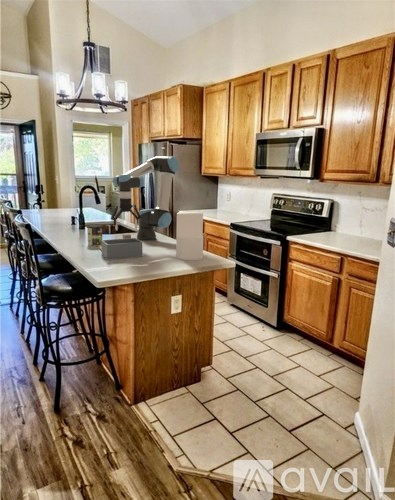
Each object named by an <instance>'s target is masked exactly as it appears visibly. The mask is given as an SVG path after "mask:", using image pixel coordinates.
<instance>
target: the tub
mask: <svg viewBox="0 0 395 500" xmlns="http://www.w3.org/2000/svg"><path fill="white" fill-rule="evenodd" d="M101 246H102V250H101V256H102V257H104V258H105V259H106V260H108V261H109V260H121V259H129V258H130V259H132V258H142V257H143V241H142V240H139V239H137V237H131V238H127V239H123V238H115V239H114V238H113V239H103V240H101Z"/></svg>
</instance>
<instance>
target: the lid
mask: <svg viewBox="0 0 395 500" xmlns="http://www.w3.org/2000/svg"><path fill="white" fill-rule="evenodd" d="M127 238H132V234H131V233H123V234H122V239H127ZM97 247H98V249H99V250H101V251H102V246H101V245H100V246H97Z"/></svg>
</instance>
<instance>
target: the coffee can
mask: <svg viewBox="0 0 395 500" xmlns="http://www.w3.org/2000/svg"><path fill="white" fill-rule="evenodd" d="M86 227H87V228H86V230H87V246H88V247H98V246H100V245H101V240H104V239H103V225H102V224H87V226H86Z"/></svg>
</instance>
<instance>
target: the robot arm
mask: <svg viewBox="0 0 395 500" xmlns="http://www.w3.org/2000/svg"><path fill="white" fill-rule="evenodd" d="M179 170H180V162H179V159H178V158H177V157H176V156H173V155H168V156H167V155H158V156H155V157H154V156H153V157H152V158H149V159H148V160H146V161H144V163H143V164H141V165H139V166H137V167H135V168H133V169H131V170H129V171H127V172H125V173H120V174H119V175H115V176H113V178H112V183H113V185H114V186H115V187H118V189H119V205H117V204H116V205H115V207H114V211H113V212H112V214H111V217H110V220H111V221H113V226H115V227H114V228H115V231H119V230H118V229H119V227H118V218H119V217H120V216H121V214H122V213H129V212H130V214H131V215H133V217H134V230H135V229H136V230H137V234H136V239H138V240H140V241H152V240H156V239H157V235H156V231H155V228H161V229H164V228H168V227H169V226H170V224H171V222H172V214H171V213H170V210H169V203H170V195H171V190H172V182H173V178H174V177H175V176H176V173H178V171H179ZM156 172H159V174H160V181H159V189H158V195H157V201H156V207H154V208H148V209H141V210H138V209H137V205H136V204H132V189H139V188H142V187H143V186H144V185H145V184H144V182H145V181H144V178H143V177H144V176H146V175H147V174H152V173H156ZM118 209H119V211H118ZM132 209H134V211H135V212H134V211H133V210H132Z"/></svg>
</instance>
